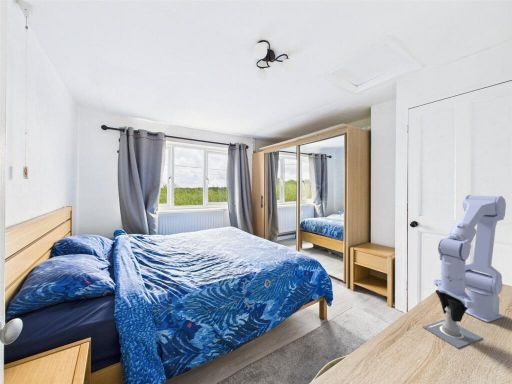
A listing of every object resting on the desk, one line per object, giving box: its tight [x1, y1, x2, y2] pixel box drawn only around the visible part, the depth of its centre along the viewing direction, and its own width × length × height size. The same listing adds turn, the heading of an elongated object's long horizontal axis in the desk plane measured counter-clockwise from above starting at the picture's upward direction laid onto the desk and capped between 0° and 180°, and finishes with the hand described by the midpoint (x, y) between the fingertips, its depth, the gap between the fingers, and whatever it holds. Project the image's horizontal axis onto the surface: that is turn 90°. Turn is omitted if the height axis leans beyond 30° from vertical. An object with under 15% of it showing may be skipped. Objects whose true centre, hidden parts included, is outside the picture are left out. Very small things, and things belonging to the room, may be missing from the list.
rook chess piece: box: [442, 306, 460, 336], centre depth 71 cm, size 4×4×8 cm
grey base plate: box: [422, 318, 484, 349], centre depth 71 cm, size 12×10×1 cm
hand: (451, 317), depth 71 cm, fingers closed on rook chess piece, 3 cm apart
